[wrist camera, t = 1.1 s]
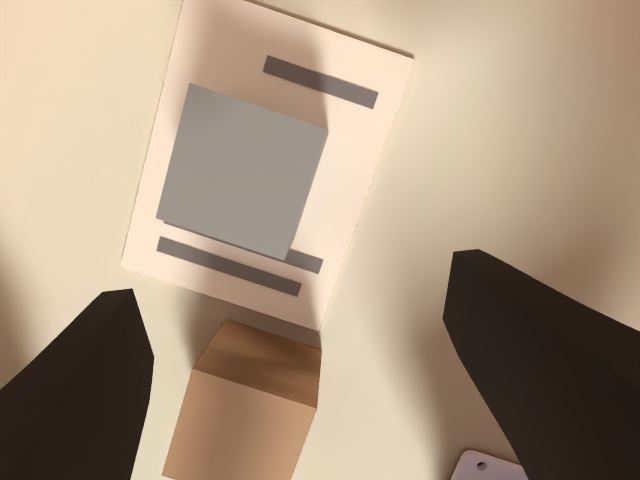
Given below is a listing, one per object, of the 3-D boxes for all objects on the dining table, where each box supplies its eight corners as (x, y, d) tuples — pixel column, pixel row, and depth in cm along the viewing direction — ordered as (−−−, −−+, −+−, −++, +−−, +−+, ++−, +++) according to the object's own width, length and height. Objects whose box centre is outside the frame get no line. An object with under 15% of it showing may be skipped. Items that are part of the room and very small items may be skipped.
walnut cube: (322, 349, 21) (316, 408, 17) (291, 433, 23) (278, 512, 18) (225, 318, 21) (192, 368, 16) (200, 404, 22) (161, 475, 18)
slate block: (328, 133, 19) (326, 129, 15) (294, 238, 20) (284, 260, 16) (220, 96, 19) (189, 82, 15) (191, 204, 20) (155, 218, 16)
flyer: (414, 60, 18) (415, 59, 18) (318, 329, 21) (318, 332, 21) (189, -18, 18) (187, -20, 18) (122, 265, 21) (119, 266, 21)
